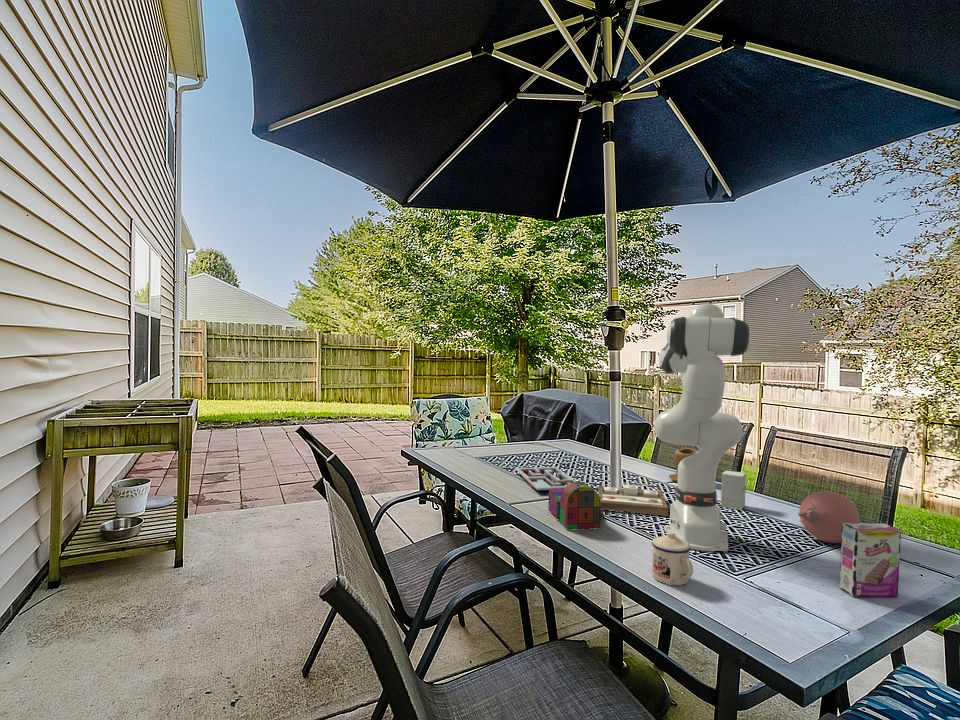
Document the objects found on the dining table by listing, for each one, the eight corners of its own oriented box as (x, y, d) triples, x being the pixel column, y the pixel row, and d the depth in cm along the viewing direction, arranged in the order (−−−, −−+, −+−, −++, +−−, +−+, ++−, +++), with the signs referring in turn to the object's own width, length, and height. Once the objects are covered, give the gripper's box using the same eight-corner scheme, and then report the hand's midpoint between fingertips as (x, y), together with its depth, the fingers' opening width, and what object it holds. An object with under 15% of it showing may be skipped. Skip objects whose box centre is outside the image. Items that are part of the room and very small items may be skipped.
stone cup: (679, 485, 219) (680, 451, 219) (665, 478, 231) (666, 446, 230) (711, 484, 221) (712, 450, 221) (695, 478, 233) (696, 445, 233)
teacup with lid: (643, 573, 130) (644, 528, 130) (672, 568, 134) (673, 525, 133) (676, 594, 119) (677, 545, 119) (706, 589, 122) (707, 541, 122)
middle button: (637, 496, 192) (637, 488, 192) (623, 495, 193) (624, 487, 193) (636, 493, 197) (636, 485, 197) (623, 492, 198) (623, 484, 198)
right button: (658, 502, 190) (658, 493, 190) (644, 501, 191) (644, 492, 191) (656, 498, 195) (657, 490, 195) (643, 497, 196) (643, 489, 196)
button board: (667, 516, 177) (668, 506, 177) (598, 510, 182) (598, 500, 182) (661, 499, 198) (661, 490, 198) (598, 493, 204) (599, 485, 204)
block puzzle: (616, 528, 164) (616, 485, 164) (566, 530, 161) (567, 487, 161) (587, 505, 189) (588, 468, 189) (543, 507, 186) (544, 469, 186)
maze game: (515, 474, 236) (515, 468, 236) (555, 473, 239) (555, 467, 239) (537, 496, 201) (537, 488, 201) (583, 494, 205) (583, 486, 205)
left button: (617, 498, 194) (617, 490, 194) (603, 497, 195) (604, 489, 195) (616, 495, 199) (617, 487, 199) (603, 494, 200) (604, 486, 200)
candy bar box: (854, 598, 118) (856, 529, 118) (838, 588, 124) (840, 522, 123) (900, 598, 119) (902, 529, 119) (882, 588, 124) (884, 522, 124)
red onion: (775, 535, 159) (776, 487, 159) (824, 530, 164) (825, 484, 164) (819, 554, 144) (821, 501, 144) (872, 548, 150) (873, 497, 149)
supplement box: (742, 510, 185) (742, 476, 184) (720, 506, 189) (721, 473, 189) (745, 506, 191) (746, 472, 190) (724, 502, 195) (725, 469, 195)
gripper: (709, 382, 179) (708, 421, 179) (698, 380, 199) (697, 414, 199) (690, 382, 180) (690, 420, 181) (681, 379, 200) (680, 414, 200)
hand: (694, 417), depth 190 cm, fingers closed
